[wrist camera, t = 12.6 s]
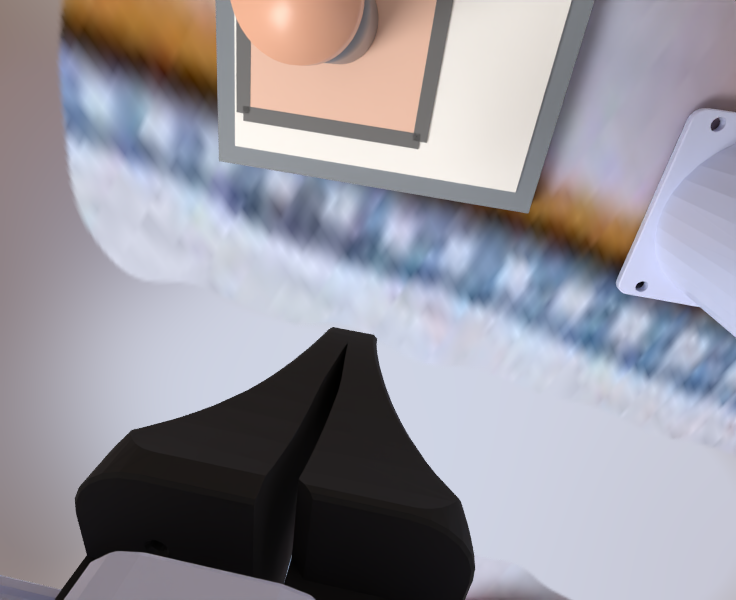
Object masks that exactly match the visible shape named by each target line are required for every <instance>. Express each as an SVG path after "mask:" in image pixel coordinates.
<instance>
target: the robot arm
mask: <svg viewBox="0 0 736 600" xmlns="http://www.w3.org/2000/svg"><path fill="white" fill-rule="evenodd" d="M716 118H719V119H720V125H719V126H718V127H717V128H716V129H715V130H713V131H712V130H711V128H710V127H711V123H712V122H713V120H714V119H716ZM641 281H644V285H643V286H642V287H640V288H635V287H636V285H637V283H639V282H641ZM616 285H617V288H618V289H619V290H620V291H621V292H622V293H625V294H630V295H635V296H641V297H646V298H652V299H658V300H663V301H669V302H675V303H680V304H686V305H691V306H697V307H701V308H702V309H703V310H704V311H705V312H707V313H708V314H709V315H710V316H711V317H712V318H714V319H715V320H716V321H717V322H718V323H720V324H721V325H722V326H723V327H724V328H726V329H727V330H728V331H729V332H730V333H731V334H733V335H734V336H735V337H736V112H731V111H725V110H718V109H711V108H700V109H698V110H696V111H694V112H693V113H692V114H691V115H690V116H689V118H688V119H687V121H686V123H685V126H684V128H683V130H682V132H681V135H680V137H679V139H678V142H677V144H676V146H675V148H674V151H673V153H672V155H671V157H670V160H669V162H668V164H667V167H666V169H665V171H664V173H663V176H662V178H661V180H660V182H659V185H658V187H657V189H656V192H655V194H654V196H653V198H652V201H651V203H650V205H649V207H648V210H647V212H646V214H645V217H644V219H643V221H642V223H641V226H640V228H639V230H638V232H637V235H636V237H635V239H634V242H633V244H632V246H631V248H630V251H629V253H628V255H627V258H626V260H625V262H624V264H623V267H622V269H621V271H620V273H619V276H618V278H617V281H616ZM376 344H377V338H376V337H375V336H374V335H372V334H366V333H361V332H356V331H350V330H345V329H340V328H335V327H332V328H330V329H329V330H328V331H327V332H326V333H325V334H324V335H323V336H322V337H320V338H319V339H318V340H317V341H316V342H315V343H314V344H313V345H312V346H311V347H309V348H308V349H307V350H306V351H304V352H303V353H302V354H301V355H300V356H298V357H297V358H296V359H295V360H294V361H292V362H291V363H289V364H288V365H286V366H285V367H284V368H282V369H281V370H280V371H278V372H277V373H275V374H274V375H272V376H271V377H269V378H268V379H266V380H264V381H263V382H261V383H259V384H258V385H256V386H254V387H252V388H251V389H249V390H247V391H245V392H243V393H241V394H238V395H236V396H234V397H232V398H230V399H227V400H225V401H223V402H221V403H219V404H216V405H214V406H211V407H209V408H206V409H203V410H201V411H198V412H195V413H192V414H189V415H186V416H183V417H180V418H176V419H173V420H169V421H166V422H162V423H158V424H154V425H151V426H147V427H143V428H139V429H134V430H132V431H130V432H129V434H127V435H126V436H125V437H124V438H123V439H122V440H121V441H120V442H119V443H118V444H117V445H116V446H115V447H114V448H113V449H112V450H111V451H110V453H109V454H108V455H107V456H106V457H105V458H104V459H103V460H102V462H101V463H100V464H99V465H98V466H97V467H96V468H95V470H94V471H93V472H92V473H91V474H90V475H89V477H88V478H87V479H86V480H85V481H84V482H83V483H82V484H81V486H80V487H79V489H78V491H77V494H76V497H75V507H76V515H77V518H78V522H79V526H80V530H81V534H82V538H83V541H84V545H85V549H86V553H87V556H86V557H85V559H84V560H83V561H82V563H81V564H80V565H79V567H78V568H77V570H76V571H75V572H74V574H73V575H72V576H71V578H70V579H69V580H68V582H67V583H66V585H65V586H64V587H63V589H58V588H54V587H49V586H45V585H41V584H37V583H33V582H28V581H24V580H20V579H15V578H11V577H7V576H3V575H0V600H465V598H466V595H467V593H468V591H469V588H470V586H471V583H472V581H473V577H474V571H475V561H474V552H473V546H472V541H471V536H470V532H469V528H468V524H467V521H466V517H465V514H464V510H463V507H462V504H461V501H460V500H459V498H458V497H457V496H456V495H454V493H453V492H452V491H451V490H450V489H449V488H448V487H447V486H446V485H445V484H444V482H443V481H442V480H441V479H440V478H439V477H438V476H437V475H436V474H435V473H434V471H433V470H432V469H431V467H430V466H429V465H428V464H427V462H426V461H425V460H424V458H423V457H422V455H421V454H420V452H419V451H418V450H417V448H416V446H415V445H414V443H413V442H412V440H411V439H410V438H409V436H408V434H407V432H406V431H405V429H404V427H403V425H402V423H401V421H400V419H399V417H398V415H397V413H396V411H395V409H394V407H393V405H392V402H391V400H390V397H389V395H388V392H387V389H386V387H385V384H384V380H383V377H382V373H381V370H380V366H379V361H378V355H377V346H376ZM291 555H292V559H291ZM290 559H291V562H290ZM289 562H290V565H289ZM288 566H289V569H288ZM287 570H288V572H287ZM286 574H287V575H286ZM285 577H286V579H285ZM284 581H285V582H284Z"/></svg>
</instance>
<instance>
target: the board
mask: <svg viewBox="0 0 736 600" xmlns="http://www.w3.org/2000/svg"><path fill="white" fill-rule="evenodd" d="M375 1H376V4H377V9H378V28H377V33H376V36H375V39H374V41H373V43H372V45H371V46H370V48H369V49H368V51H367V52H366V53H365V54H364V55H363V56H362V57H360V58H359V59H357V60H355V61H353V62H351V63H347V64H329V63H322V64H318V65H312V66H299V65H289V64H285V63H281V62H278V61H276V60H274V59H272V58H270V57H268V56H267V55H265V54H264V53H262V52H261V51H260V50H259V49H258V48H257V47H255V46H254V45H253V44H252V42H251V41H250V40H249V39H248V38H247V36H246V35H245V33H244V32H243V30H242V29H241V27H240V25H239V23H238V21H237V19H236V16H235V14H234V11H233V8H232V4H231V1H230V0H216V41H217V88H218V135H219V161H222V162H228V163H234V164H240V165H246V166H252V167H257V168H263V169H269V170H275V171H281V172H287V173H293V174H299V175H305V176H311V177H317V178H322V179H328V180H334V181H340V182H346V183H352V184H358V185H364V186H370V187H376V188H382V189H387V190H393V191H399V192H405V193H411V194H417V195H423V196H429V197H435V198H441V199H447V200H452V201H458V202H464V203H470V204H476V205H482V206H488V207H494V208H500V209H506V210H512V211H517V212H523V213H529V209H530V206H531V203H532V200H533V197H534V193H535V190H536V187H537V184H538V181H539V177H540V174H541V171H542V168H543V165H544V161H545V158H546V155H547V152H548V149H549V145H550V142H551V139H552V136H553V133H554V129H555V126H556V123H557V120H558V117H559V113H560V110H561V107H562V104H563V101H564V97H565V94H566V91H567V88H568V85H569V81H570V78H571V75H572V72H573V69H574V65H575V62H576V59H577V56H578V53H579V49H580V46H581V43H582V40H583V37H584V33H585V30H586V27H587V24H588V21H589V17H590V14H591V11H592V8H593V5H594V1H595V0H375Z"/></svg>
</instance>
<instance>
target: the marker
mask: <svg viewBox="0 0 736 600" xmlns="http://www.w3.org/2000/svg"><path fill="white" fill-rule="evenodd" d="M230 1H231V4H232V8H233V11H234V14H235V16H236V19H237V21H238V23H239V25H240V27H241V29H242V30H243V32H244V33H245V35H246V36H247V38H248V39H249V40H250V41H251V42H252V44H253V45H254V46H255V47H257V48H258V49H259V50H260V51H261V52H262V53H264V54H265V55H267V56H268V57H270V58H272V59H274V60H276V61H278V62H281V63H285V64H289V65H299V66H312V65H318V64H322V63H329V64H347V63H351V62H353V61H355V60H357V59H359V58H360V57H362V56H363V55H364V54H365V53H366V52H367V51H368V49H369V48H370V46H371V45H372V43H373V41H374V39H375V36H376V33H377V28H378V9H377V4H376V1H375V0H230Z"/></svg>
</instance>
